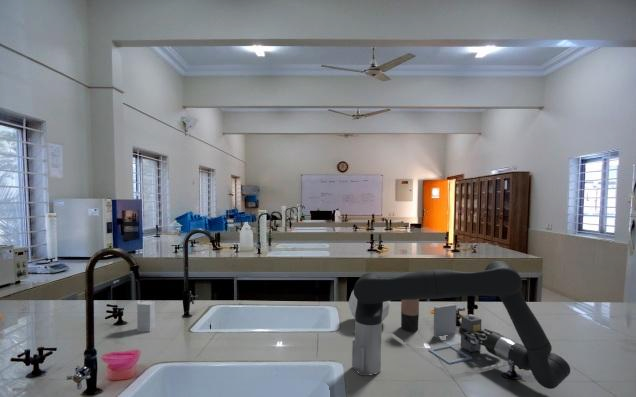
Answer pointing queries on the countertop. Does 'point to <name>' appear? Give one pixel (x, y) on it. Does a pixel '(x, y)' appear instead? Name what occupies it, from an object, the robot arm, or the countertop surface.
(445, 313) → the bay
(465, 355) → the blue-grey square frame
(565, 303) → the countertop surface
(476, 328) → the grey box bottle
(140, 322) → the skincare box
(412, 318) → the travel mug
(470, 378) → the countertop surface
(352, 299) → the polyhedron
